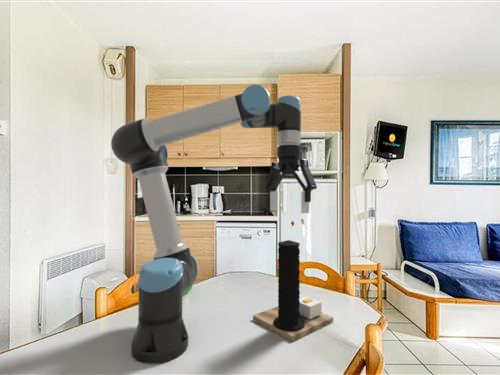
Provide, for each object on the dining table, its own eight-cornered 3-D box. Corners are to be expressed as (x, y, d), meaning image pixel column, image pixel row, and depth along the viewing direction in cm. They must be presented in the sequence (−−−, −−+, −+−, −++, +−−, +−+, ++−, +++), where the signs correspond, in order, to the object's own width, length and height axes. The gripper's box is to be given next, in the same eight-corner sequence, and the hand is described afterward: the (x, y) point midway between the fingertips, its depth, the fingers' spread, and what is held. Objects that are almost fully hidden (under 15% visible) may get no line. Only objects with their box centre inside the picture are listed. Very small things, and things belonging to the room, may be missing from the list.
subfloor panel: (292, 341, 81) (292, 336, 81) (253, 319, 95) (253, 314, 95) (333, 321, 93) (333, 317, 93) (292, 304, 107) (292, 300, 107)
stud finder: (310, 319, 91) (310, 305, 91) (293, 311, 96) (293, 299, 97) (321, 314, 95) (321, 301, 95) (305, 307, 100) (305, 295, 100)
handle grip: (306, 332, 83) (303, 317, 93) (306, 243, 84) (303, 237, 94) (272, 330, 84) (273, 315, 94) (272, 242, 85) (273, 237, 95)
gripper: (328, 141, 82) (328, 213, 82) (270, 151, 102) (270, 209, 101) (312, 138, 78) (312, 214, 77) (255, 149, 97) (254, 210, 97)
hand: (288, 211), depth 89 cm, fingers open, 13 cm apart
